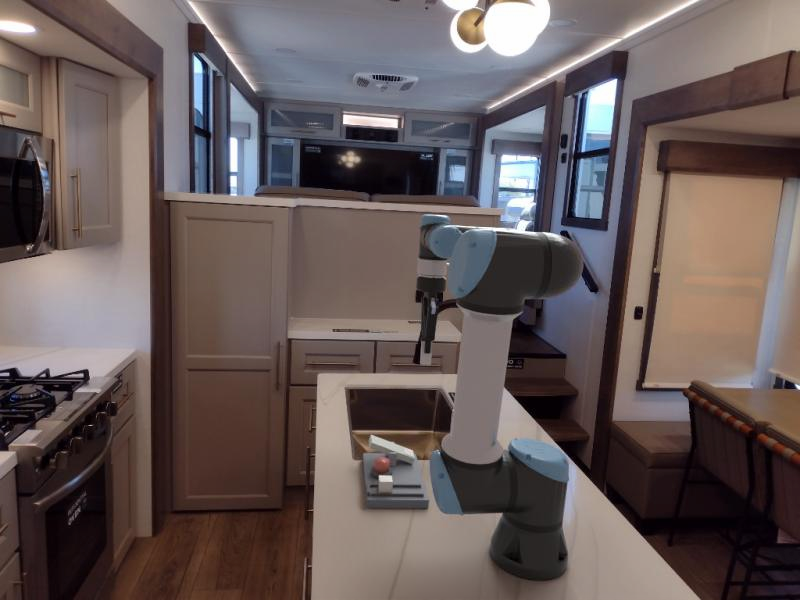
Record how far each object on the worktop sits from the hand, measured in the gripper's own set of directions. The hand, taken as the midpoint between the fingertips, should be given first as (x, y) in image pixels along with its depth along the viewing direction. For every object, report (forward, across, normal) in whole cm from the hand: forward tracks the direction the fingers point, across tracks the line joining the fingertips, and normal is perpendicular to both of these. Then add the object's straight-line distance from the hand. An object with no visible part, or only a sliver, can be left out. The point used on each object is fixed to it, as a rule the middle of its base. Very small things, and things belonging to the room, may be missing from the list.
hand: (425, 364), depth 153 cm
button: (+23, -14, +12) cm, 29 cm away
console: (+26, -14, +8) cm, 31 cm away
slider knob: (+24, -22, +11) cm, 35 cm away
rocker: (+21, -6, +8) cm, 24 cm away
